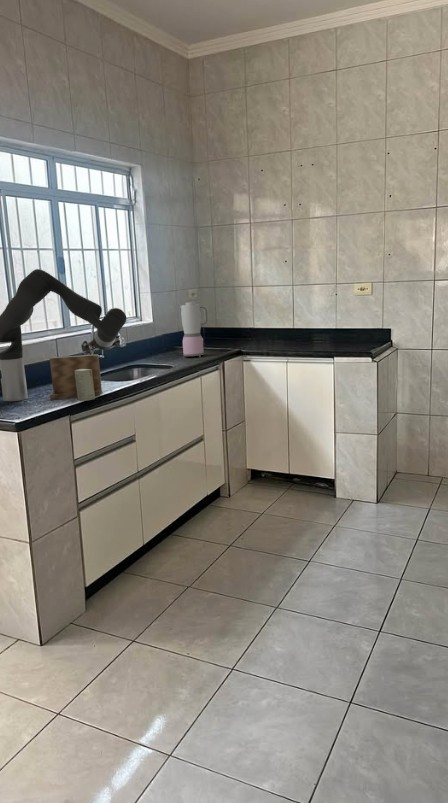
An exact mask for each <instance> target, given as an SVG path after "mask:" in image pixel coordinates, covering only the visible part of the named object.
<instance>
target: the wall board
mask: <svg viewBox="0 0 448 803" xmlns="http://www.w3.org/2000/svg"><path fill="white" fill-rule="evenodd" d="M49 363H50V374H51V381H52V382H51V384H52V392H51V393H50V395H49V397H50V398H49V399H50V401H53V400H55V401H56V400H65V399H66V400H68V399H78V394H77V386H76V378H75V370H79V369H92V376H93V384H94V393H95V397H101V395H102V392H103V391H102V388H103V387H102V380H101V368H100V359H99V354H85V355H84V354H83V355H73V356H57V357H49Z"/></svg>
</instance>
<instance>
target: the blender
mask: <svg viewBox="0 0 448 803" xmlns="http://www.w3.org/2000/svg"><path fill="white" fill-rule="evenodd" d="M179 307H180V309H181V310H180V313H181V325H182V330H183V333H184V334H183V338H182V349H183V350H182V351H183V357H184V356H187V357H195V356H196V357H198V356H200V355H203V356H204V355H205V352H204V348H205V347H206V342H204V338H203V337H202V335H201V329H202V328H201V327H202V326H203V325H206V324H207V323H208V310H207V308H206V307H204V306H201V305H200V304H199V303H198V304H196V303H195V301H193V302H185V304H182V305H180V306H179ZM201 311H203V316H204V318H203V319H204V321H202V314H201Z"/></svg>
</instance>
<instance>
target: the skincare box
mask: <svg viewBox="0 0 448 803" xmlns="http://www.w3.org/2000/svg"><path fill="white" fill-rule="evenodd" d="M75 378H76V386H77V394H78V398H77V400H78V401H86V402H87V401H91V400H95V399H96V396H95V393H94V384H93V376H92V369H79V370H75Z"/></svg>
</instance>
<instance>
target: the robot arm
mask: <svg viewBox="0 0 448 803" xmlns="http://www.w3.org/2000/svg"><path fill="white" fill-rule="evenodd" d="M51 292H52V293H54V294H56V295H58V296H59V297H60V298H61V299H62V300H63V302H64V304H65V305H66V308H67V309H68V310H69V311H70V312H71V314H73V315H74V316H76V317H78V318H80V319H82V320H83V321H85V322H88V323H89V324H90V325H92V326H93V327H94V328H95V329H96V331H95V333H94V334H93V337H92V340H91V341H89V342H88V341H87V340H84V341H83V342H82V343H81V350H82V353H84V352H85V353H86V354H90V352H91V351H97V350H101V351H106V350H108V351H111V349H113V348H114V347H119V346H120V344H121V340H120V336H119V335H118V333H119V332H120V331H121V329H122V328H123V326H124V325H125V324H126V322H127V315H126V313H125V311H124V310H122V309H121V308H118V307H112V308H110V309H109V310H108V311H107V312H106V314H105V315H104V317H102V319H100V317H101V316H102V311H103V308H102V306H101V305H100V304H98V303H96V302H94V301H92V300H90V299H88V298H86V297H84V296H83V295H80V294H79V293H77V292H76V291H75V290H72V288H70V287H69V286H67V285H66V284H64V283H63V282H62V281H61V280H59V279H58V278H56V277H55V276H53V275H52V274H50V273H48V272H47V271H45V270H44V269H40V268H36V269H34V270H32V271H31V272H30V273H29V274H27V275H26V276H25V277H24V278H23V279H22V280H21V281H20V283H19V285H18V287H17V289H16V292H15V295H14V296H13V297H12V298H11V299H10V300H9V302H8V303H7V305H6V306H5V308H4V310H3V312H2V313H1V314H0V343H1V344H5V343H10V345H9V346H8V347H7V348H6V349H3V350H2V351H0V374H1V378H0V384H1V391H2V400H3V402H16V401H17V402H18V401H25V400H27V399H28V398H29V396H28V388H27V380H26V372H25V371H26V370H25V365H24V364H25V363H24V355H23V354H24V352H23V341H22V328H21V326H22V325H24V324H25V323H26V322H28V321H29V319H30V318H31V316H32V315H33V313H34V311H35V310H34V307H35V306H36V305H37V304H38V303H40V302H41V301H43V299H44V298H45V297H47V296H48V295H49V294H50V293H51Z"/></svg>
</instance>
